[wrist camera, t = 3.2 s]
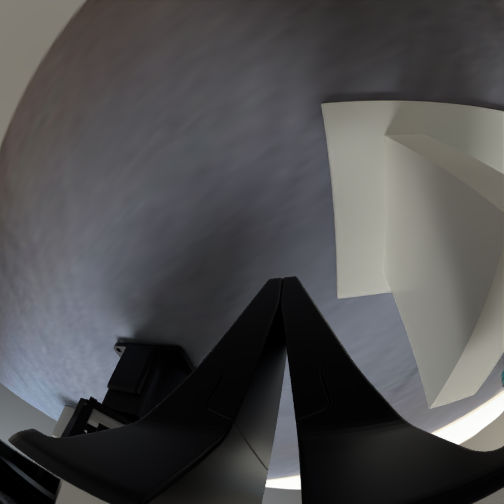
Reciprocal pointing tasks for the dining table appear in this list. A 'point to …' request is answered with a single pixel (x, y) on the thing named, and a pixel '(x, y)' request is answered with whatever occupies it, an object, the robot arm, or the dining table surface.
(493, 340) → the rectangular block
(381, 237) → the felt mat
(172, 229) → the dining table surface
